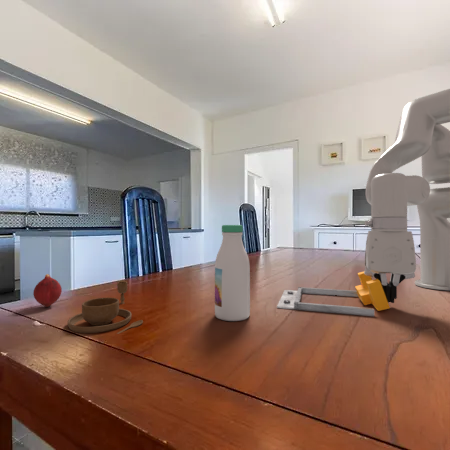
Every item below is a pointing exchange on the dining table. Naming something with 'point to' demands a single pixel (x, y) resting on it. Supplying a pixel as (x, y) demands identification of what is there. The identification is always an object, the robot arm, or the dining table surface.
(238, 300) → the milk bottle
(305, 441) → the dining table surface
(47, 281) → the onion
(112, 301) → the place setting
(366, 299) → the pipe clamp
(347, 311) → the hinge bracket
